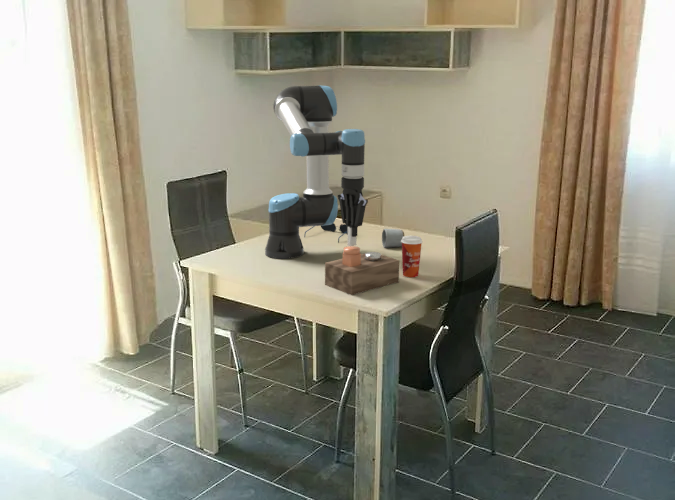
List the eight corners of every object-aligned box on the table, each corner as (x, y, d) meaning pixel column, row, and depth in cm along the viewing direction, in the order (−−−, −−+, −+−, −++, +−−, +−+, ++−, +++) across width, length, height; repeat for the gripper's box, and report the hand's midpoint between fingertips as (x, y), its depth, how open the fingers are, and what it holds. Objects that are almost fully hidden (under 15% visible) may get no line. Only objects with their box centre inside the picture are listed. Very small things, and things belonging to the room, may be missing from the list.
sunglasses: (355, 236, 333) (355, 225, 331) (338, 248, 322) (338, 237, 320) (321, 230, 341) (320, 220, 339) (303, 242, 330) (303, 231, 328)
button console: (325, 284, 268) (325, 262, 265) (371, 272, 281) (372, 251, 279) (351, 295, 257) (351, 272, 255) (398, 282, 271) (399, 260, 269)
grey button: (361, 274, 272) (361, 253, 270) (373, 271, 276) (373, 251, 274) (372, 278, 268) (372, 257, 266) (384, 275, 272) (384, 254, 269)
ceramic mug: (405, 248, 313) (405, 230, 311) (385, 249, 311) (386, 231, 309) (398, 242, 323) (398, 224, 321) (379, 243, 321) (379, 225, 319)
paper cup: (406, 279, 274) (407, 241, 270) (396, 273, 281) (397, 236, 277) (425, 277, 277) (426, 239, 273) (415, 271, 284) (416, 234, 280)
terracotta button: (340, 269, 265) (340, 248, 263) (352, 266, 268) (352, 245, 266) (350, 273, 261) (351, 251, 259) (363, 270, 264) (363, 248, 262)
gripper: (331, 175, 258) (331, 243, 265) (357, 180, 249) (356, 251, 255) (348, 172, 263) (347, 239, 269) (374, 178, 253) (373, 247, 260)
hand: (351, 245), depth 262 cm, fingers closed
